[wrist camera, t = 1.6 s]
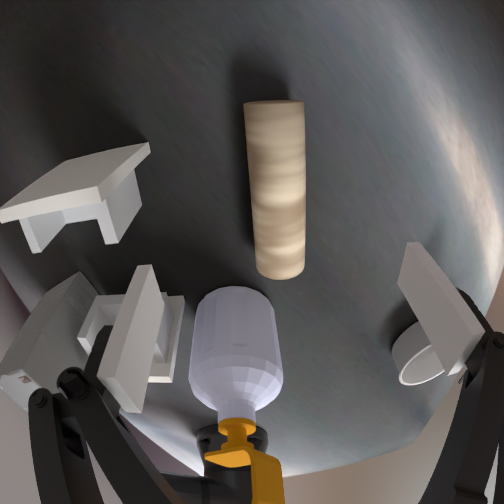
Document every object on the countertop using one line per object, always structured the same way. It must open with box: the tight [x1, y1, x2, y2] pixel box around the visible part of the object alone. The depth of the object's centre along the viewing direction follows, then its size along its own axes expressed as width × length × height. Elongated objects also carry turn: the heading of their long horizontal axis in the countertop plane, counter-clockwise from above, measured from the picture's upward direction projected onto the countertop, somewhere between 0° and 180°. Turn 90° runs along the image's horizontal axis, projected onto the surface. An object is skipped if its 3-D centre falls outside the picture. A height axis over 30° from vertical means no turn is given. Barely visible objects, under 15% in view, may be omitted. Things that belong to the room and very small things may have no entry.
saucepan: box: [391, 288, 460, 385], centre depth 36 cm, size 12×20×6 cm, turn 12°
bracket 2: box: [77, 292, 185, 383], centre depth 28 cm, size 4×9×11 cm, turn 94°
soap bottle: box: [188, 286, 285, 504], centre depth 25 cm, size 9×9×25 cm
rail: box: [243, 100, 306, 280], centre depth 25 cm, size 15×5×5 cm
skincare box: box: [0, 271, 100, 412], centre depth 26 cm, size 8×7×16 cm
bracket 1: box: [0, 142, 151, 253], centre depth 20 cm, size 4×9×11 cm, turn 94°
